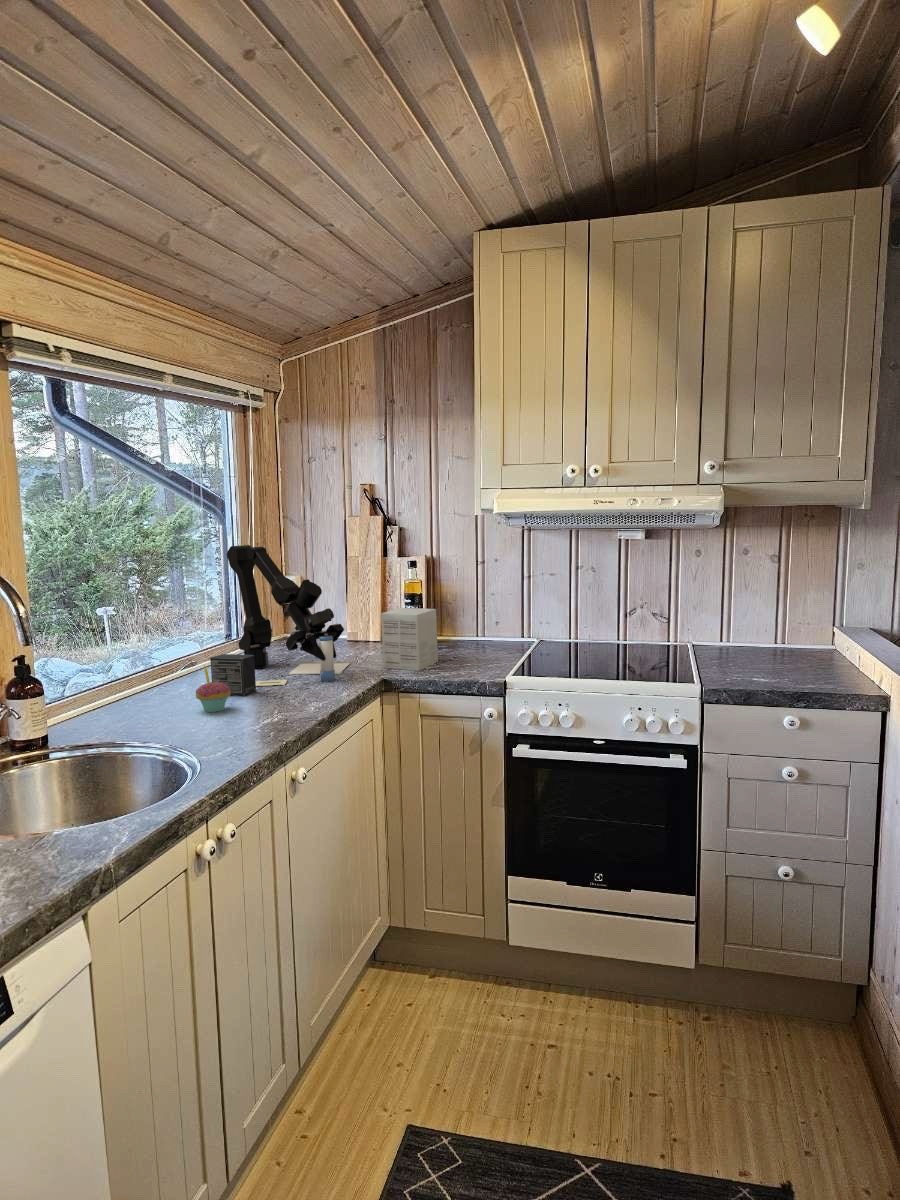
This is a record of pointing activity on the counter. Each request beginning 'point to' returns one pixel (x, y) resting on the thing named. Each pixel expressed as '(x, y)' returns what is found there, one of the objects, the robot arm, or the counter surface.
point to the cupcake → (213, 694)
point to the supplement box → (409, 638)
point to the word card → (271, 682)
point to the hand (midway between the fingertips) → (330, 658)
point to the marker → (327, 658)
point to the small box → (234, 672)
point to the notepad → (318, 668)
